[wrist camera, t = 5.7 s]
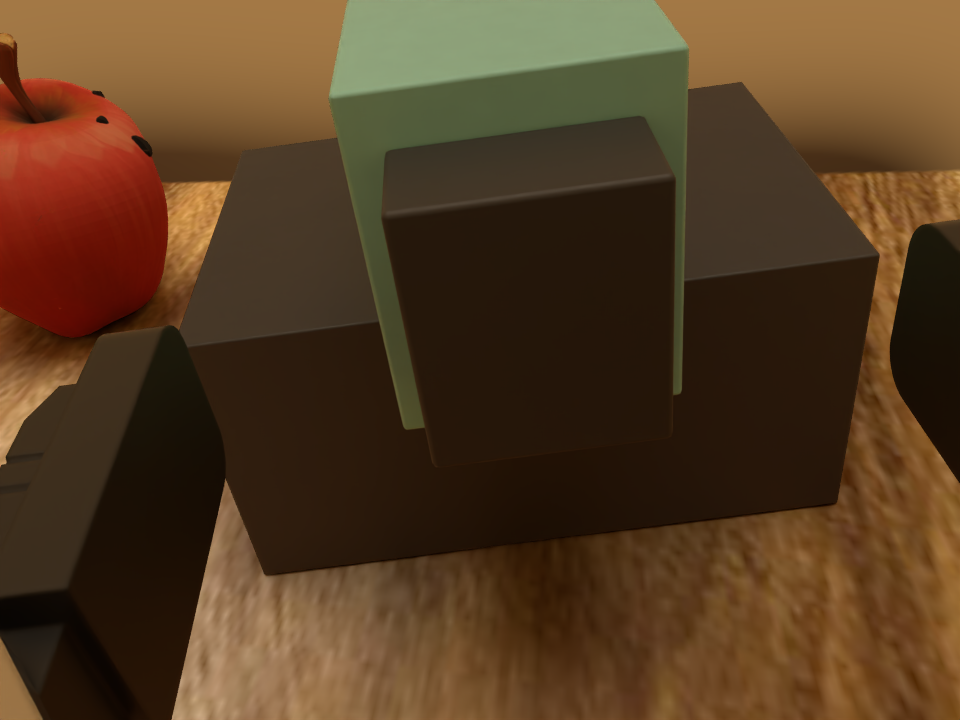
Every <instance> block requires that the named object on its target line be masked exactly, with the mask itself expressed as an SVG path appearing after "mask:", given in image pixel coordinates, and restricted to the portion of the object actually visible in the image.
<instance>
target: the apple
mask: <svg viewBox="0 0 960 720" xmlns="http://www.w3.org/2000/svg"><path fill="white" fill-rule="evenodd" d="M0 78H1V79H2V81H3V82H4V84H1V85H0V307H2V308H3V309H5V310H7V311H9V312H11V313H13V314H14V315H16V316H19V317H21V318H23V319H25V320H27V321H29V322H32V323H34V324H36V325H38V326H40V327H42V328H44V329H46V330H48V331H50V332H52V333H55V334H58V335H61V336H63V337H82V336H85V335H88V334H91V333H93V332H95V331H97V330H99V329H101V328H103V327H104V326H106V325H108V324H110V323H112V322H114V321H116V320H118V319H120V318H123V317H125V316H127V315H129V314H131V313H133V312H135V311H136V310H138V309H140V308H141V307H142V306H144V305H145V304H146V303H147V302H148V301H149V300H150V299H151V298H152V297H153V295H154V293H155V292H156V290H157V288H158V286H159V284H160V281H161V278H162V275H163V270H164V263H165V256H166V249H167V242H168V214H167V203H166V198H165V193H164V190H163V186H162V183H161V180H160V178H159V175H158V172H157V169H156V167H155V164H154V162H153V159H152V148H151V146H150V145H149V144H148V142H147V141H145V140H144V138H143V136H142V134H141V133H140V131H139V129H138V127H137V126H136V124H135V123H134V122H133V120H132V119H131V118H130V117H129V116H128V115H127V114H126V113H125V112H124V111H123V110H122V109H120V108H119V107H117V106H116V105H115V104H113V103H112V102H110V101H109V100H107V99H105V97H104V95H103V94H102V92H101V91H93V92H92V91H90V90H88V89H85V88H83V87H80V86H77V85H75V84H73V83H69V82H65V81H61V80H56V79H48V78H36V79H25V80H20V77H19V73H18V67H17V43H16V42H15V41H14V40H13V37H12V36H11V35H9V34H6V33H0Z"/></svg>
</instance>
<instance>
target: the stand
mask: <svg viewBox="0 0 960 720" xmlns="http://www.w3.org/2000/svg"><path fill="white" fill-rule="evenodd" d="M879 257H880V255H879V253H878V252H877V250H876V249H875V248H874V247H873V245H872V244H871V243H870V242H869V240H868V239H867V238H866V237H865V235H864V234H863V233H862V232H861V230H860V229H859V228H858V227H857V225H856V224H855V223H854V222H853V220H852V219H851V218H850V217H849V215H848V214H847V213H846V212H845V210H844V209H843V208H842V207H841V205H840V204H839V203H838V202H837V200H836V199H835V198H834V197H833V195H832V194H831V193H830V192H829V190H828V189H827V188H826V187H825V185H824V184H823V183H822V182H821V180H820V179H819V178H818V177H817V175H816V174H815V173H814V172H813V170H812V169H811V168H810V167H809V165H808V164H807V163H806V162H805V160H804V159H803V158H802V157H801V156H800V154H799V153H798V152H797V150H796V149H795V148H794V147H793V145H792V144H791V143H790V142H789V140H788V139H787V138H786V137H785V135H784V134H783V133H782V132H781V131H780V129H779V128H778V127H777V126H776V125H775V123H774V122H773V121H772V119H771V118H770V117H769V116H768V114H767V113H766V112H765V111H764V109H763V108H762V107H761V106H760V104H759V103H758V102H757V101H756V99H755V98H754V97H753V96H752V94H751V93H750V92H749V91H748V89H747V88H746V87H745V86H744V84H743V83H742V82H738V83H732V84H724V85H716V86H709V87H702V88H695V89H688V115H687V162H686V210H685V257H684V305H683V352H682V390H681V393H680V394H678V395H673V432H672V435H671V437H669V438H667V439H659V440H652V441H644V442H636V443H628V444H620V445H613V446H605V447H597V448H589V449H582V450H574V451H566V452H558V453H550V454H543V455H535V456H527V457H519V458H512V459H504V460H496V461H488V462H480V463H473V464H465V465H457V466H449V467H442V468H438V467H435V466H434V464H433V463H432V459H431V454H430V450H429V445H428V440H427V435H426V431H425V428H417V429H409V430H407V429H405V428H404V426H403V423H402V419H401V415H400V410H399V406H398V401H397V397H396V393H395V388H394V384H393V379H392V375H391V371H390V366H389V362H388V358H387V353H386V349H385V344H384V340H383V336H382V331H381V327H380V323H379V318H378V314H377V309H376V305H375V301H374V296H373V292H372V287H371V283H370V279H369V274H368V270H367V266H366V261H365V257H364V252H363V248H362V244H361V239H360V235H359V231H358V226H357V222H356V217H355V213H354V209H353V204H352V200H351V195H350V191H349V187H348V182H347V178H346V174H345V169H344V165H343V160H342V156H341V152H340V147H339V143H338V139H337V138H332V139H325V140H318V141H310V142H303V143H296V144H289V145H281V146H274V147H267V148H260V149H252V150H245V151H242V154H241V156H240V160H239V162H238V165H237V168H236V171H235V174H234V176H233V179H232V182H231V185H230V188H229V190H228V193H227V196H226V199H225V202H224V205H223V207H222V210H221V213H220V216H219V219H218V222H217V224H216V227H215V230H214V233H213V236H212V239H211V241H210V244H209V247H208V250H207V253H206V256H205V258H204V261H203V264H202V267H201V270H200V273H199V275H198V278H197V281H196V284H195V287H194V290H193V292H192V295H191V298H190V301H189V304H188V307H187V309H186V312H185V315H184V318H183V321H182V324H181V326H180V329H179V332H180V333H181V335H182V337H183V339H184V341H185V343H186V345H187V348H188V351H189V353H190V356H191V358H192V361H193V363H194V366H195V368H196V371H197V373H198V376H199V378H200V381H201V383H202V386H203V388H204V391H205V393H206V396H207V398H208V401H209V403H210V406H211V408H212V411H213V414H214V416H215V419H216V421H217V424H218V426H219V429H220V432H221V436H222V440H223V444H224V451H225V461H226V475H225V478H226V481H227V483H228V485H229V488H230V490H231V493H232V495H233V498H234V500H235V503H236V505H237V508H238V510H239V512H240V515H241V517H242V520H243V522H244V525H245V527H246V530H247V532H248V535H249V537H250V540H251V542H252V544H253V547H254V549H255V552H256V554H257V557H258V559H259V562H260V564H261V567H262V569H263V571H264V574H266V575H268V574H276V573H284V572H292V571H300V570H307V569H315V568H323V567H331V566H339V565H347V564H355V563H363V562H371V561H379V560H387V559H395V558H403V557H410V556H418V555H426V554H434V553H442V552H450V551H458V550H466V549H474V548H482V547H490V546H498V545H506V544H513V543H521V542H529V541H537V540H545V539H553V538H561V537H569V536H577V535H585V534H593V533H601V532H609V531H616V530H624V529H632V528H640V527H648V526H656V525H664V524H672V523H680V522H688V521H696V520H704V519H711V518H719V517H727V516H735V515H743V514H751V513H759V512H767V511H775V510H783V509H791V508H799V507H807V506H814V505H822V504H830V503H836V502H837V500H838V494H839V488H840V482H841V476H842V471H843V465H844V459H845V453H846V448H847V442H848V436H849V430H850V424H851V419H852V413H853V407H854V401H855V395H856V390H857V384H858V378H859V372H860V367H861V361H862V355H863V349H864V343H865V338H866V332H867V326H868V320H869V315H870V309H871V303H872V297H873V291H874V286H875V280H876V274H877V268H878V263H879Z"/></svg>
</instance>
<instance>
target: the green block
mask: <svg viewBox="0 0 960 720" xmlns="http://www.w3.org/2000/svg"><path fill="white" fill-rule="evenodd" d="M688 65H689V48H688V45H687V44H686V42H685V41H684V40H683V38H682V37H681V36H680V34H679V33H678V31H676V29H675V28H674V26H673V25H672V23H671V22H670V21H669V19H668V18H667V17H666V15H665V14H664V12H663V11H662V10H661V9H660V7H659V6H658V4H657V3H656V1H655V0H348V1H347V6H346V11H345V16H344V21H343V26H342V32H341V37H340V42H339V47H338V52H337V58H336V62H335V67H334V73H333V78H332V83H331V88H330V93H329V103H330V108H331V112H332V117H333V121H334V125H335V130H336V134H337V139H338V143H339V147H340V152H341V156H342V160H343V165H344V169H345V174H346V178H347V182H348V187H349V191H350V195H351V200H352V204H353V209H354V213H355V217H356V222H357V226H358V231H359V235H360V239H361V244H362V248H363V252H364V257H365V261H366V266H367V270H368V274H369V279H370V283H371V287H372V292H373V296H374V301H375V305H376V309H377V314H378V318H379V323H380V327H381V331H382V336H383V340H384V344H385V349H386V353H387V358H388V362H389V366H390V371H391V375H392V379H393V384H394V388H395V393H396V397H397V401H398V406H399V410H400V415H401V419H402V423H403V426H404V428H405V429H407V430H409V429H417V428H425V431H426V435H427V440H428V445H429V450H430V454H431V459H432V463H433V464H434V466H435V467H438V468H442V467H449V466H457V465H465V464H473V463H480V462H488V461H496V460H504V459H512V458H519V457H527V456H535V455H543V454H550V453H558V452H566V451H574V450H582V449H589V448H597V447H605V446H613V445H620V444H628V443H636V442H644V441H652V440H659V439H667V438H669V437H671V435H672V432H673V395H678V394H680V393H681V390H682V352H683V305H684V257H685V210H686V162H687V115H688Z"/></svg>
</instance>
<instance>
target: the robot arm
mask: <svg viewBox="0 0 960 720" xmlns="http://www.w3.org/2000/svg"><path fill="white" fill-rule="evenodd" d="M890 362H891V369H892V374H893V378H894V381H895V384H896V387H897V389H898V391H899V394H900V395H901V397H902V399H903V400H904V402H905V403H906V405H907V406H908V408H909V409H910V411H911V412H912V414H913V415H914V416H915V418H916V419H917V421H918V422H919V424H920V425H921V427H922V428H923V430H924V431H925V433H926V434H927V436H928V437H929V439H930V440H931V442H932V443H933V445H934V446H935V447H936V449H937V450H938V452H939V453H940V455H941V456H942V458H943V459H944V461H945V462H946V464H947V465H948V467H949V468H950V470H951V471H952V473H953V474H954V476H955V477H956V478H957V480H958V481H959V483H960V220H952V221H945V222H938V223H930V224H924V225H921V226H920V227H918V228H917V229H916V231H915V232H914V234H913V235H912V238H911V240H910V244H909V248H908V253H907V258H906V263H905V268H904V274H903V279H902V284H901V289H900V294H899V299H898V305H897V310H896V315H895V320H894V325H893V330H892V335H891V342H890ZM6 461H7V463H6V464H4V465H1V467H0V720H171V719H172V715H173V710H174V706H175V701H176V697H177V693H178V688H179V684H180V679H181V675H182V670H183V666H184V662H185V657H186V653H187V648H188V644H189V639H190V635H191V630H192V626H193V622H194V617H195V613H196V608H197V604H198V599H199V595H200V590H201V586H202V582H203V577H204V573H205V568H206V564H207V559H208V555H209V551H210V546H211V542H212V537H213V533H214V528H215V524H216V519H217V515H218V511H219V506H220V502H221V497H222V493H223V488H224V483H225V475H226V461H225V451H224V444H223V440H222V436H221V432H220V429H219V426H218V424H217V421H216V419H215V416H214V414H213V411H212V408H211V406H210V403H209V401H208V398H207V396H206V393H205V391H204V388H203V386H202V383H201V381H200V378H199V376H198V373H197V371H196V368H195V366H194V363H193V361H192V358H191V356H190V353H189V351H188V348H187V345H186V343H185V341H184V339H183V337H182V335H181V333H180V332H179V331H178V329H176V328H175V327H174V326H172V325H167V326H160V327H153V328H145V329H138V330H131V331H123V332H116V333H109V334H103V335H101V336H100V337H99V338H98V339H97V341H96V342H95V344H94V346H93V349H92V351H91V353H90V355H89V357H88V359H87V362H86V364H85V366H84V368H83V370H82V372H81V374H80V377H79V379H78V381H77V383H76V384H71V385H64V386H59V387H58V388H57V389H56V390H55V391H54V392H53V393H52V394H51V395H50V396H49V397H48V398H47V399H46V400H45V401H44V402H43V403H42V404H41V405H40V406H39V407H38V408H37V409H36V410H35V411H34V412H32V413H31V414H30V415H29V416H28V417H27V418H26V419H25V420H24V422H23V424H22V426H21V428H20V430H19V432H18V434H17V436H16V438H15V440H14V442H13V444H12V446H11V448H10V450H9V452H8V453H7V455H6Z"/></svg>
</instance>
